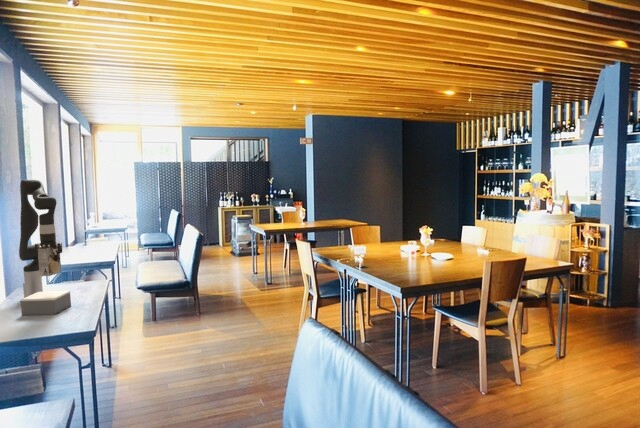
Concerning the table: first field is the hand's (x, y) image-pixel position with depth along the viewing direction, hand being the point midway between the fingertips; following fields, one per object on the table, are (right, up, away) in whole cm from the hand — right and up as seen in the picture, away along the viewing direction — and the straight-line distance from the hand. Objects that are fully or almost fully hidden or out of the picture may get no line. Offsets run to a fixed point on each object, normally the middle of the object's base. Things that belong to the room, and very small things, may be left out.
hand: (49, 261), depth 248 cm
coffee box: (0, -8, +1) cm, 8 cm away
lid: (-1, -20, -1) cm, 20 cm away
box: (-1, -28, 0) cm, 28 cm away
